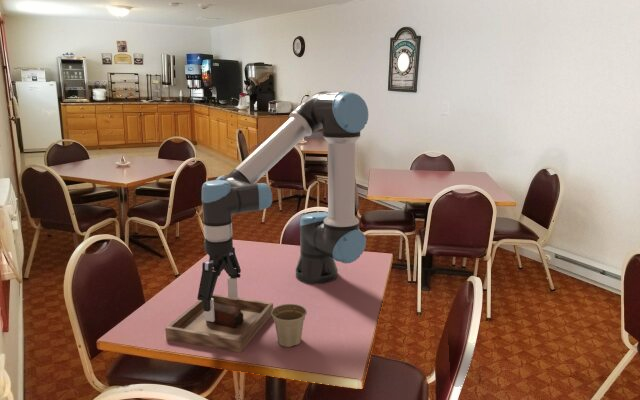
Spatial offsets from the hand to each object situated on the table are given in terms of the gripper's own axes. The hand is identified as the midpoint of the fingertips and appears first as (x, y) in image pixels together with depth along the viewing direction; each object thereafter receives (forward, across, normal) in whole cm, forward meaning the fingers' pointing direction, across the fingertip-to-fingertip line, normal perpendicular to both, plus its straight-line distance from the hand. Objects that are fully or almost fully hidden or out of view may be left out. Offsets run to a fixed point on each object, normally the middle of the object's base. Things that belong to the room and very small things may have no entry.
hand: (221, 309), depth 129 cm
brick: (+4, 0, 0) cm, 4 cm away
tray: (+5, 0, 0) cm, 5 cm away
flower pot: (+5, +2, +21) cm, 22 cm away
